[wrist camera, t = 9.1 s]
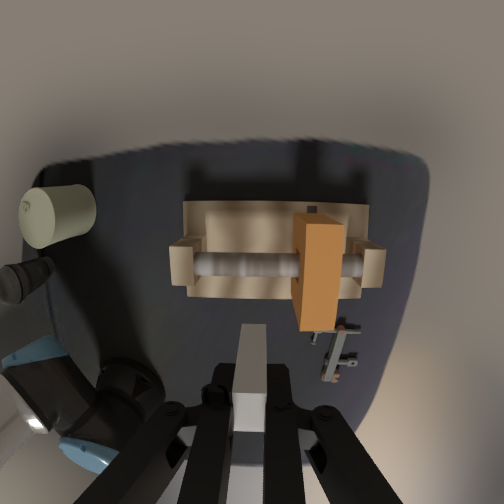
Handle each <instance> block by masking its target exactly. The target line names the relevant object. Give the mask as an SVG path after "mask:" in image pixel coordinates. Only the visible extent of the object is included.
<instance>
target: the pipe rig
mask: <svg viewBox="0 0 504 504" xmlns="http://www.w3.org/2000/svg"><path fill="white" fill-rule="evenodd" d="M294 213H321V214H323V215H326V216H328V217H330V218H332V219H334V220H336V221H338V222H340V223H342V224H344V225H345V227H344V243H343V256H342V268H341V278H340V288H339V297H338V299H345V298H360V297H361V290H362V288H374V287H382V281H383V274H384V266H385V258H386V249H384V248H382V247H381V246H379V245H377V244H375V243H373V242H372V241H370V240H368V239H367V233H368V218H369V205H364V204H347V203H327V202H299V201H184V202H183V222H184V237H183V238H181V239H180V240H178V241H177V242H175V243H174V244H172V245H171V246H169V252H170V266H171V279H172V285H178V286H187V295H188V296H190V297H214V298H249V299H292V296H291V277H299V262H300V253H292V251H293V220H294Z"/></svg>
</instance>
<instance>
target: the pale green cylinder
mask: <svg viewBox="0 0 504 504" xmlns="http://www.w3.org/2000/svg"><path fill="white" fill-rule="evenodd" d="M95 218H96V202H95V199H94V196H93V194H92V193H91V191H90V190H89V189H88V188H87V187H85V186H83V185H80V184H75V185H71V186H58V187H42V188H39V187H35V188H32V189H30V190H28V191H27V192H26V193H25V195H24V196H23V198H22V200H21V204H20V207H19V225H20V229H21V232H22V235H23V237H24V239H25V240H26V242H27V243H28V244H29V245H30V246H32V247H34V248H37V249H41V248H44V247H46V246H48V245H51V244H53V243H56V242H59V241H62V240H64V239H67V238H71V237H74V236H77V235H83V234H85V233H87V232H88V231H89V230H90V229H91V228H92V226H93V224H94V222H95Z"/></svg>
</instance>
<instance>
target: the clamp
mask: <svg viewBox="0 0 504 504" xmlns="http://www.w3.org/2000/svg"><path fill="white" fill-rule="evenodd" d="M321 332H330V333H334V337H333V340H332V343H331V347H330V350H329V354H328V357H327V358H325V359H324V364H325V366H324V370H322V372H321V375H320V376H321V379H322V380H323V381H331V382H338V379H337V377H339V376H340V374H339V371H338V370H337V369H336V366H337V364H346V366H356V365H357V363H358V360H357V358H347V359H339V356H340V353H341V350H342V347H343V344H344V341H345V337H346V334H354V333H355V334H356V333H361V331H359V330H354V329H345V328H344V326H343V325H339V326H336V328H334V330H329V331H313V333H315V334H314V338H313V341H311V343H312V344H316V338H317V334H318V333H321Z"/></svg>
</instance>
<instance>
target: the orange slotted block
mask: <svg viewBox="0 0 504 504" xmlns="http://www.w3.org/2000/svg"><path fill="white" fill-rule="evenodd" d="M344 227H345V225H344V224H342V223H340V222H338V221H336V220H334V219H332V218H330V217H328V216H326V215H323V214H321V213H294V220H293V251H292V253H300V262H299V277H291V296H292V300H293V305H294V309H295V313H296V317H297V321H298V326H299V330H300V331H329V330H334V327H335V320H336V313H337V305H338V297H339V288H340V278H341V268H342V256H343V243H344Z"/></svg>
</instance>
